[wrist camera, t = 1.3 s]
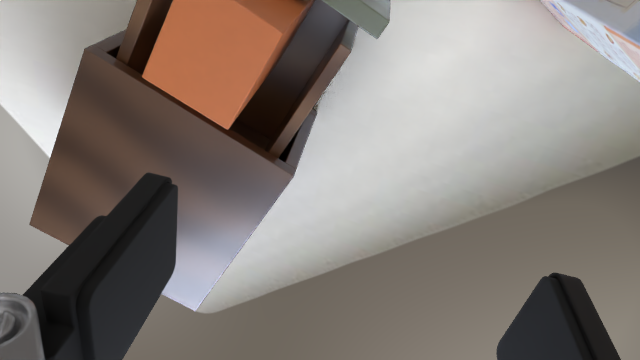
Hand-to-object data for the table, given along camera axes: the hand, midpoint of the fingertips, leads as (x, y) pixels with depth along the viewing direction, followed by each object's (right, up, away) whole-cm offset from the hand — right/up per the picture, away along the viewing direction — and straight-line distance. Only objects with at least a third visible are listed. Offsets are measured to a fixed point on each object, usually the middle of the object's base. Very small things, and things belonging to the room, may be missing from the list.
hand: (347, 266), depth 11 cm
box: (-4, +15, +21) cm, 26 cm away
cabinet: (-12, +6, +30) cm, 33 cm away
